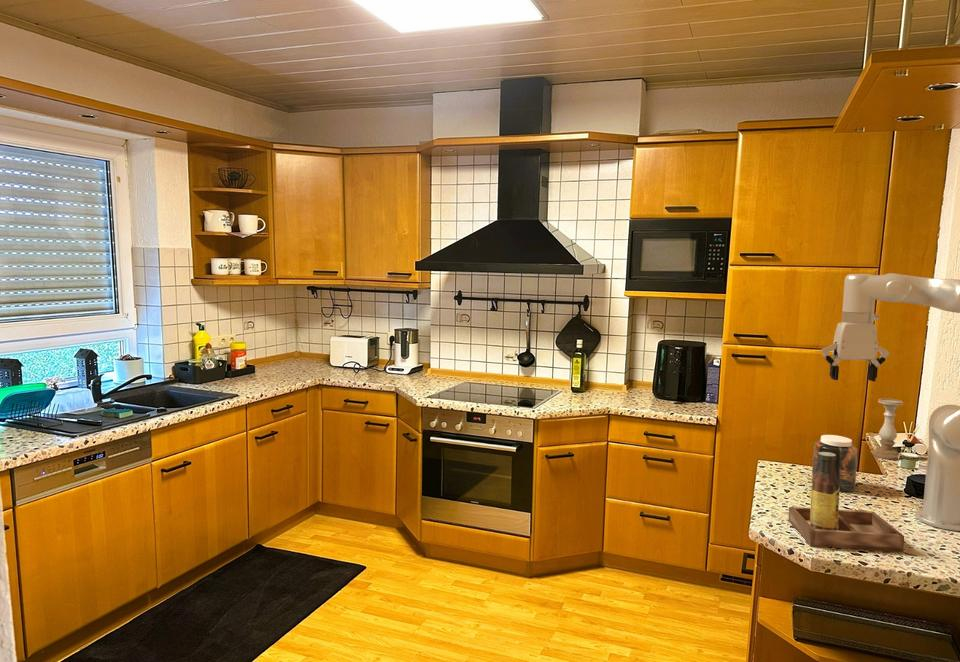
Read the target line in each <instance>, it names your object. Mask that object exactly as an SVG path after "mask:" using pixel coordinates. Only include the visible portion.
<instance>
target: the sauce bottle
mask: <svg viewBox="0 0 960 662" xmlns="http://www.w3.org/2000/svg"><path fill="white" fill-rule="evenodd" d="M818 460H819V463H818V472H817V473H816V474H815V475H814V477H813V480H812V479H811V491H810V493H811V494H810V507H809V508H810V525H811V526H812V528H813V529H822V530H837V526H838V511H839V510H840V509H839V507H840V493H841V492H840V485H839V482H838V479H837V476H836V472H835V461H836V454H833V453H829V452H819V453H818Z"/></svg>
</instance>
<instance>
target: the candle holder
mask: <svg viewBox="0 0 960 662" xmlns="http://www.w3.org/2000/svg"><path fill="white" fill-rule="evenodd" d="M877 402H878V403H879V404H882V405H883V408H884V409H885V411H884V413H883V416H884V422H883V425H882V427H881V428H880V430H879V432H878V436H879V437H880V439H879V443H880V445H881V446H880V447H876V448H875V449H873V450H871V455H873V456H874V457H876V458H880V459H884V460H885V459H886V460H899V459H898V455H899V454H900V453H899V452H898V450H895V449H893V447H894V446H895V445H896V442H895V441H896V439H897V438H898V437H897V436H898V433H897V430H896V428H895V425H894V424H895V423H894V422H895V417H897V415H896V413H895V411H896V409H898V407H899V406H903V405H904V401H902V400H899V399H896V398H894V399H893V398H878V400H877Z"/></svg>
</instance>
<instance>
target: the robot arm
mask: <svg viewBox="0 0 960 662" xmlns="http://www.w3.org/2000/svg"><path fill="white" fill-rule="evenodd" d="M876 301H883V302H889V303H897V302H899V303H907V304H912V305H913V304H914V305H920V306H925V307H930V308H931V307H932V308H935V309H938V310H940V311H945V312H951V313H957V314H960V279H956V278H933V277H923V276H915V275H906V274H900V273H893V272H892V273H886V274H877V275H876V274H875V275H874V274H869V273H849V274H847V275H846V276H845V278H844V284H843V296H842V310H841V311H842V312H841V322H838V323H837V325H836V327H835V333H834V335H833V342H832V344H830V345H828V346H825V347H823V348H821V349H820V351H821V355H822V356H823V359H824V360H825V361H826V362H827V363H828V364H829V376H830V378H831V380H833V381H838V380H839V373H840V372H839V371H840V366H838V365H839V363H841V362H842V361H843V360H847V361H850V360H851V361H867V362H868V363H869V365H868V368H867V377H866V378H867V380H868V381H870V382H873V383H874V382H876V379H877V377H878V368H880V366H881V365H882V364H883V363H885V362H886V359H888V357H889V355H890V351H889V350H888V349H885V348H883V347H882V346H880V345H878V334H877V333H878V332H877V326H876V324H874V323H875V321H876V320H877V321H878V320H879V319H880V315H878V314H875V306H876V305H875V304H876V303H875V302H876ZM830 352H832V357H831V354H830ZM878 352H879V353H880V355H879V356H878ZM928 422H929V423H928V449H927V450H928V452H927V459H926V460H927V462H926V472H925V479H924V480H925V481H924V482H925V483H924V494H923V504H922V508H919V509H917V510H915V514H914V515H915V517H916V519H917V520H918V521H921V522H922V523H924V524H926V525H929V526H931V527H936V528H938V529H943V530H949V531H954V532H955V531H956V532H960V405H956V404H945V405H941V406H939V407H937V408H936V409H934V410H933V412H932V413H931V415H930V417H929V420H928Z"/></svg>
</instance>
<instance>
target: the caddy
mask: <svg viewBox="0 0 960 662" xmlns="http://www.w3.org/2000/svg"><path fill="white" fill-rule="evenodd" d="M788 507H789V508H788V520H787V521H788V523H789V522H790V523H791V524H792V525H791V524H790V523H789V524H790V525H791V527H792V528H794V530H795V529H796V530H797V531H798V532H799V533H800V534H801V535H800V534H799V533H798V532H797V531H796V530H795V531H796V532H797V533H798V534H799V535H800V537H803V538H804V539H805V540H806V541H805V540H804V539H803V538H802V539H803V540H804V541H805V542H806V544H808V545H810V546H809V547H815V546H816V547H819V548H830V547H834V549H846V548H850V549H849V550H861V549H865V550H864V551H879V552H880V551H881V552H892V553H893V552H894V553H896V552H897V553H904V546H905V545H904V543H905V535H904V534H902V533H901V532H900V531H899V530H898V529H896V528H895V527H894V526H893V525H891V523H889V522H888V521H886V520H885V519H884V518H883V517H881V516H880V515H879V514H878V513H876V512H875V511H869V510H851V509H839V511H838V526H837V530H822V529H813V528H812V526H811V525H810V508H811V507H800V506H788Z"/></svg>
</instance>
